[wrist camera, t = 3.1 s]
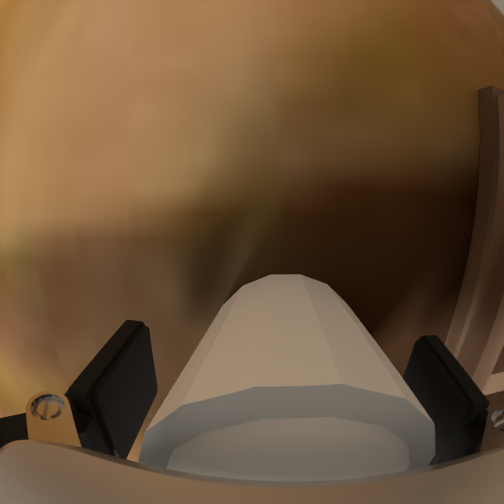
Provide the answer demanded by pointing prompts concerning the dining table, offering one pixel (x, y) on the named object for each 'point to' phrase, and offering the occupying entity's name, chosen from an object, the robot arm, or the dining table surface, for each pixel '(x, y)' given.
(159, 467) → the robot arm
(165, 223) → the dining table surface
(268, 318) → the white cup
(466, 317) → the square wooden tray
